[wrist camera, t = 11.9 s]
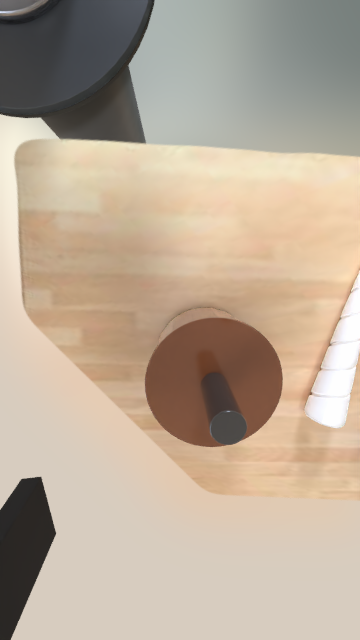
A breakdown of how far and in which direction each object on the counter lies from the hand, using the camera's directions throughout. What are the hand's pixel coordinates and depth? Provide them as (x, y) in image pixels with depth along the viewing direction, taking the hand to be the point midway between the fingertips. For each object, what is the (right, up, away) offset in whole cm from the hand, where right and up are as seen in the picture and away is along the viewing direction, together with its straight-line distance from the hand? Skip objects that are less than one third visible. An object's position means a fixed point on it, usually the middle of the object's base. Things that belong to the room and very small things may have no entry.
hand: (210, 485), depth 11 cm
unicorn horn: (+20, +4, +27) cm, 34 cm away
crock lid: (+2, 0, +17) cm, 18 cm away
